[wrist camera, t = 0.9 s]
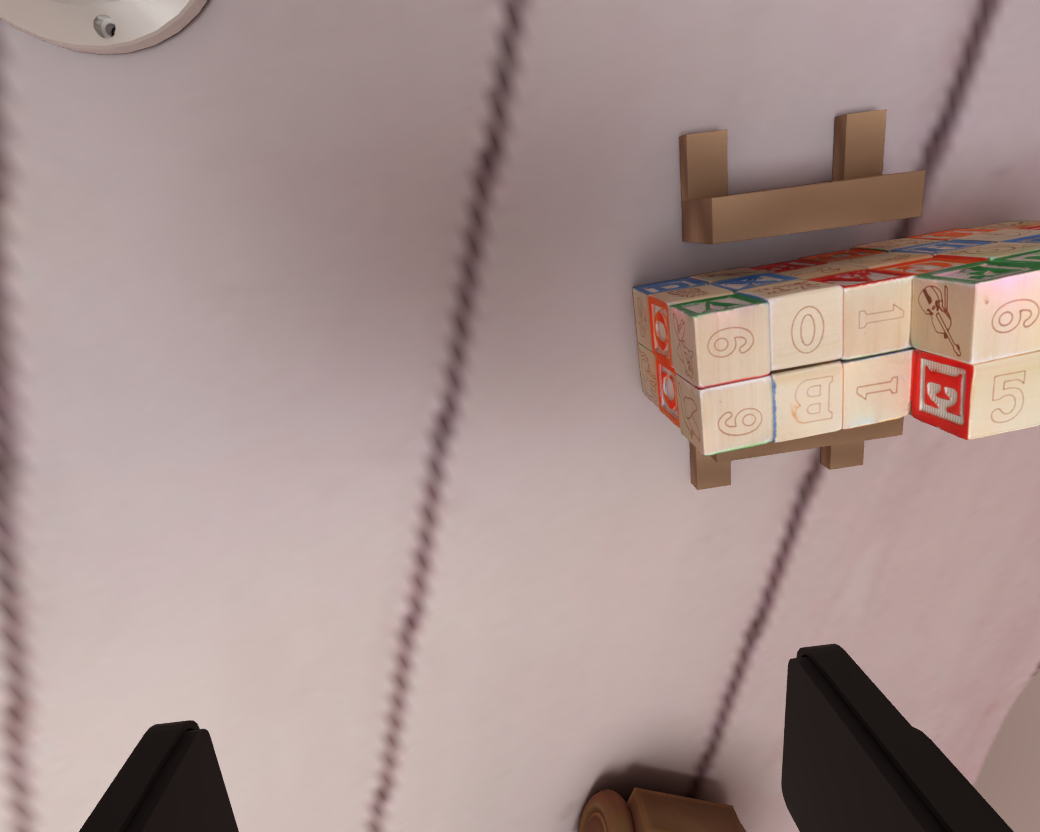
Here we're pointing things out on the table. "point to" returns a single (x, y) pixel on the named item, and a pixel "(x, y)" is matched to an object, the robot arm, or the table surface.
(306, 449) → the table surface
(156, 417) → the table surface
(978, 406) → the stack of blocks
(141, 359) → the table surface
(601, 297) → the table surface
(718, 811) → the wooden toy train
